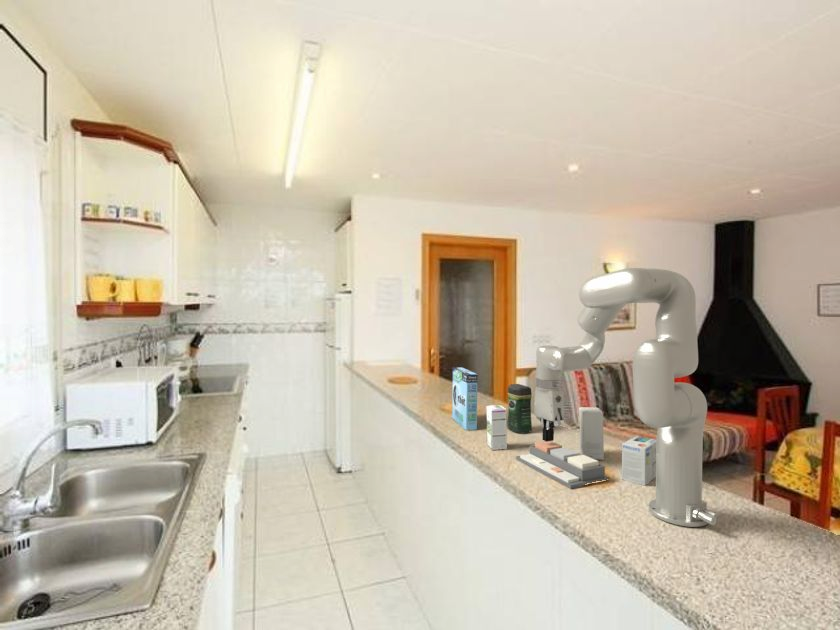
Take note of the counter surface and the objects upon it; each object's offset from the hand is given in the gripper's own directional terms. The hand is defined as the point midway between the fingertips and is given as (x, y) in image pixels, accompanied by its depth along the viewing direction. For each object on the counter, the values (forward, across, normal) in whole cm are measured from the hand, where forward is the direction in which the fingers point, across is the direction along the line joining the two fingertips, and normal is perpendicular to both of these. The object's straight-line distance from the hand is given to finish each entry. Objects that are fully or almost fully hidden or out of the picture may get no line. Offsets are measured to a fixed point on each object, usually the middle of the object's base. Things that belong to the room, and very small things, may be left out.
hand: (548, 440), depth 142 cm
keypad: (+6, -8, +2) cm, 10 cm away
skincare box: (+7, -2, -16) cm, 18 cm away
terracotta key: (+4, 0, 0) cm, 4 cm away
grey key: (+4, -8, 0) cm, 9 cm away
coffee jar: (+7, +32, -12) cm, 35 cm away
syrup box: (+7, +18, +8) cm, 21 cm away
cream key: (+4, -15, 0) cm, 16 cm away
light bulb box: (+7, -22, -15) cm, 28 cm away
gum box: (+7, +49, +4) cm, 50 cm away
